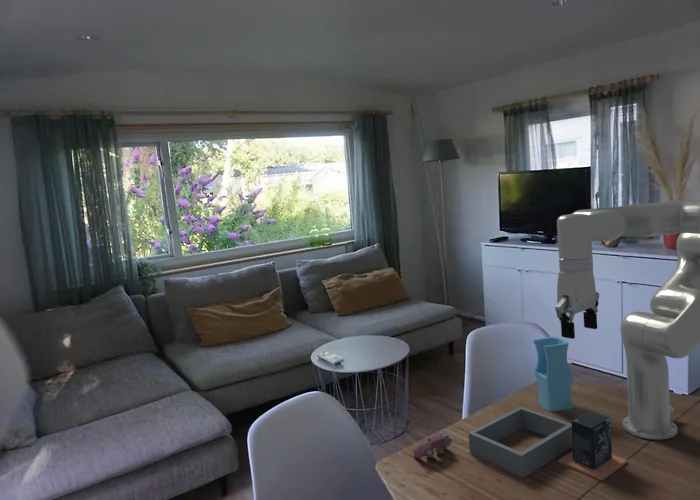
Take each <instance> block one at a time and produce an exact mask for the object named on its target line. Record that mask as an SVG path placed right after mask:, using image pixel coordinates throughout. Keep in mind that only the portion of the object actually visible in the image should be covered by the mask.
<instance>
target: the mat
mask: <svg viewBox="0 0 700 500" xmlns="http://www.w3.org/2000/svg"><path fill="white" fill-rule="evenodd" d="M557 463H558V464H560V465H563V466H565V467H568V468H570V469H573V471H574V470H575V471H577V472H580V473H582V474H584V475H587V476H590V477H591V478H594V479H596V480H598V481H604V480H606V479H607V478H608V477H609V476H611V475H613V474H614V473H616V471H618V470H619V469H620V468H622V467H624V465H626V464H627V463H628V460H627V459H625V458H623V457H620V456H616V455H614V454H612V458H611V459H609V460H608V461H606V462H605V463H603V464H602V465H600V466H599V467H597V468H596V469H594V470H593V469H591V468H588V467H586V466H584V465H581V464H579V463H577V462H574V461H573V450H572V451H570V452H568V453H567V454H566V455H564V456H563V457H561V458H560V459H558V460H557Z"/></svg>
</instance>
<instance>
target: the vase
mask: <svg viewBox="0 0 700 500" xmlns="http://www.w3.org/2000/svg"><path fill="white" fill-rule="evenodd" d="M532 341H533V344H534V346H535V347H534V348H535V349H536V353H537V354H536V355H537V362H536V366H535V369H534V376H535V378H536V381H537V384H538V392H539V394H538V395H539V396H538V404H539V405H540V406H542V407H543V408H544V409H545V410H546V411H548V412H558V411H566V410H572V409H575V407H574V403H573V400H572V385H573V379H574V378H573V375H572V374H573V373H572V371H571V369H570V367H569V363H568V356H567V355H568V348H569V343H570V342H569V341H566V340H565V339H563V338H561V337H558V336H549V337H542V338H541V337H540V338H534V339H532Z"/></svg>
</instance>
